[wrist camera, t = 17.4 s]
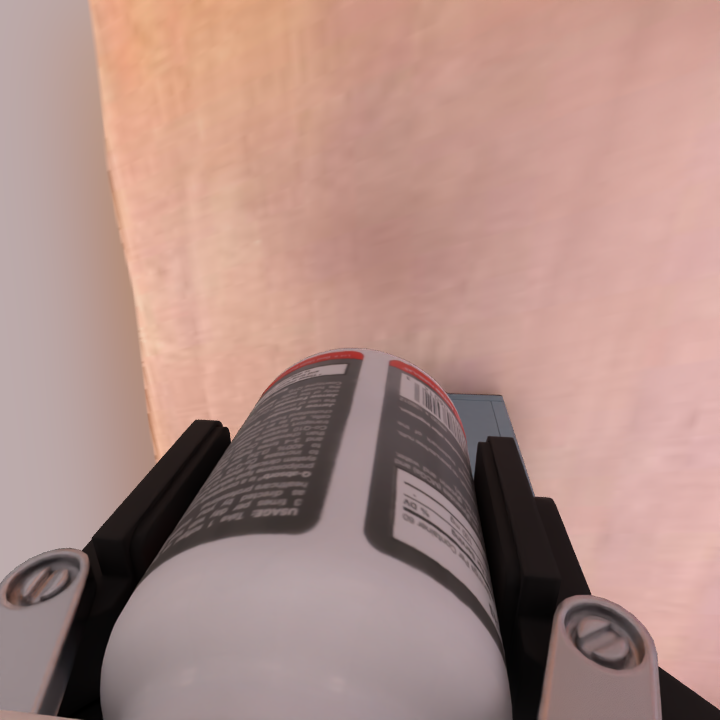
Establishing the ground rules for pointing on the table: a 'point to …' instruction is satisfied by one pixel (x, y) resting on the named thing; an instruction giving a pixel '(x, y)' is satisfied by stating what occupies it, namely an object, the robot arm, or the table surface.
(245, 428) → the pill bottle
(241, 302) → the table surface
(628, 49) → the table surface
